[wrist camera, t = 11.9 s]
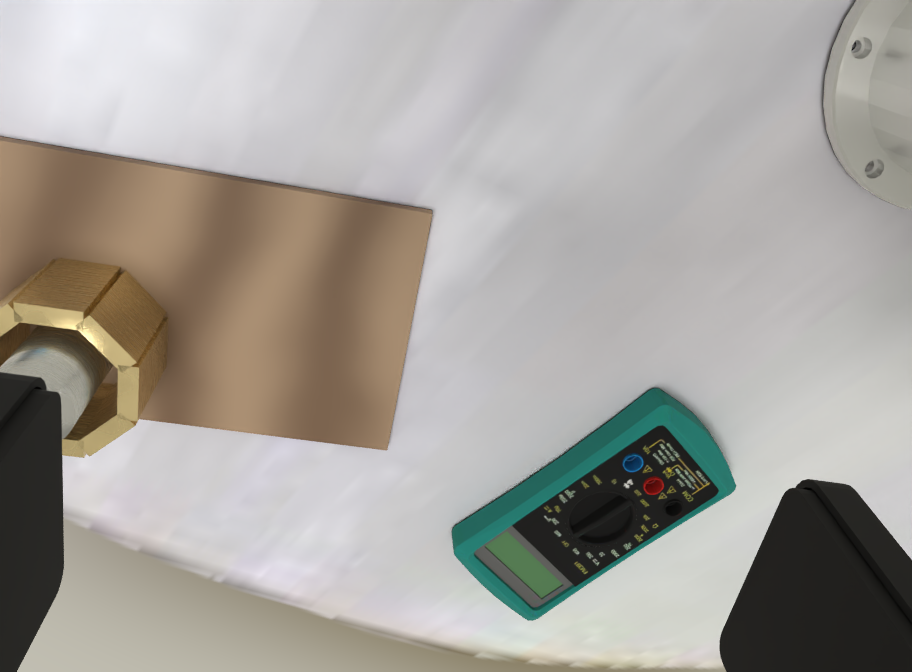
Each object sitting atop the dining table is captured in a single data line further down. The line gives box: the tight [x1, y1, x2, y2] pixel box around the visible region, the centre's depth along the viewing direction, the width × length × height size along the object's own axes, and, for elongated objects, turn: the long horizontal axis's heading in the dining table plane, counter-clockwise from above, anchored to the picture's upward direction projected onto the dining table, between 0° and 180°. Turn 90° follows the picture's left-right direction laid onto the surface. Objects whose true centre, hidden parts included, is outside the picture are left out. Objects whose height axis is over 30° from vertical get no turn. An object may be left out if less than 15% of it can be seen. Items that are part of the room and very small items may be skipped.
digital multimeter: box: [452, 388, 736, 620], centre depth 45 cm, size 7×15×3 cm, turn 129°
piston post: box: [0, 325, 113, 439], centre depth 36 cm, size 4×4×7 cm
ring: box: [0, 258, 169, 458], centre depth 37 cm, size 7×7×5 cm
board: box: [0, 136, 432, 450], centre depth 39 cm, size 20×13×1 cm, turn 79°
